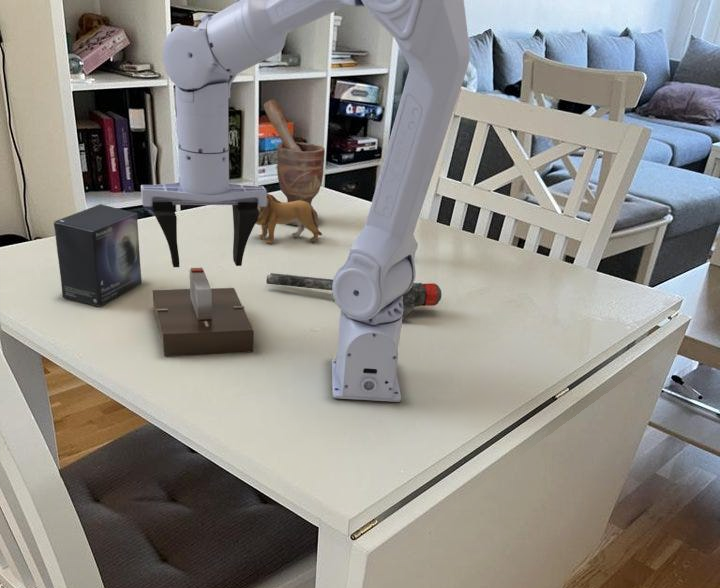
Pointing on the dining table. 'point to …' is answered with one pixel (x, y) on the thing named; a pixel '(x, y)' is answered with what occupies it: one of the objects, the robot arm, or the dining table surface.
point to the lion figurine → (286, 217)
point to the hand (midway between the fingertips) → (206, 264)
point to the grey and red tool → (412, 298)
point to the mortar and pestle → (295, 161)
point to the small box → (98, 254)
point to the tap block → (201, 324)
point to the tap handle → (200, 294)
